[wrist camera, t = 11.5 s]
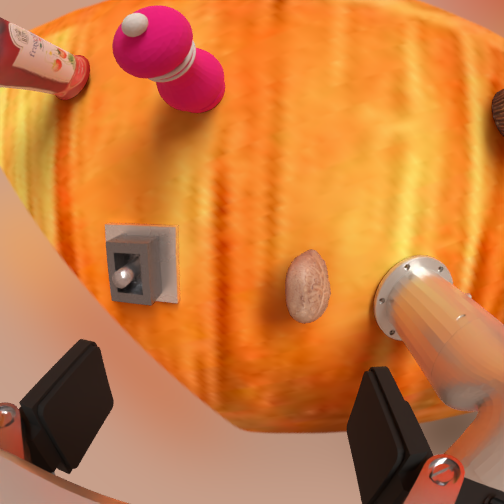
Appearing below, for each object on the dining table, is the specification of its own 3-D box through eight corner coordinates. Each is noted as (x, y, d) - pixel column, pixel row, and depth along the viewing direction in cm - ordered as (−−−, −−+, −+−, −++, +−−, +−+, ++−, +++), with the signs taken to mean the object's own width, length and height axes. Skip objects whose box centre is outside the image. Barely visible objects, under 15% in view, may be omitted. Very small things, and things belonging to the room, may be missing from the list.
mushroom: (289, 237, 37) (294, 255, 29) (337, 249, 37) (353, 270, 29) (273, 293, 39) (273, 323, 31) (319, 304, 39) (329, 335, 31)
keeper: (178, 225, 37) (158, 238, 30) (180, 299, 40) (163, 325, 33) (109, 222, 38) (80, 234, 31) (114, 292, 40) (90, 313, 33)
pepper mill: (189, 128, 34) (105, 92, 15) (161, 84, 33) (69, 26, 13) (240, 96, 33) (206, 21, 13) (210, 52, 31) (155, -38, 12)
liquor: (101, 83, 33) (-67, 29, 6) (63, 112, 34) (-103, 96, 7) (89, 47, 31) (-56, -18, 4) (52, 75, 32) (-95, 43, 5)
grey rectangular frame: (120, 234, 37) (105, 241, 33) (159, 236, 36) (147, 243, 33) (125, 288, 39) (112, 300, 35) (162, 292, 38) (151, 305, 35)
